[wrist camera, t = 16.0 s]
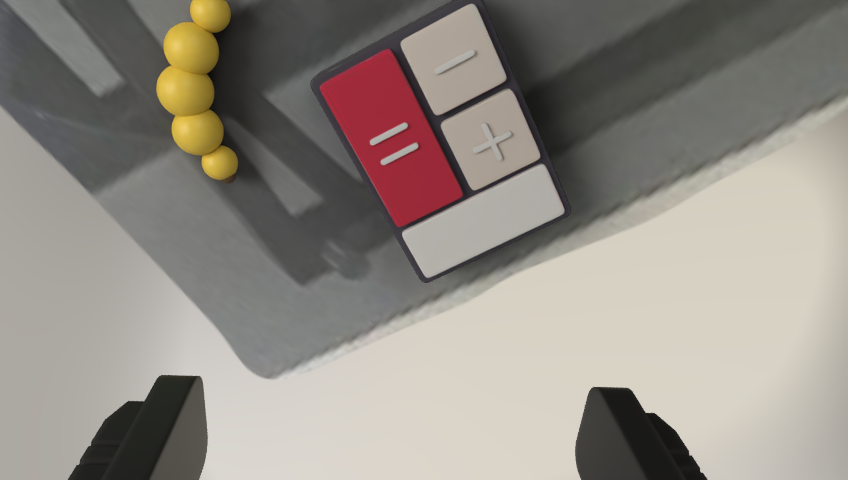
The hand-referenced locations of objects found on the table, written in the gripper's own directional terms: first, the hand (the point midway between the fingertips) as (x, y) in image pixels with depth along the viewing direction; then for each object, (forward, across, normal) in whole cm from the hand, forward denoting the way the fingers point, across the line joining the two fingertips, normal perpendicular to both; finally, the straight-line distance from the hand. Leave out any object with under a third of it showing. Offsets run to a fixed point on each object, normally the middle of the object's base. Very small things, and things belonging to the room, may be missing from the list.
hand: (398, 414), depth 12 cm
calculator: (+28, -4, +1) cm, 29 cm away
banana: (+28, +12, -1) cm, 31 cm away
